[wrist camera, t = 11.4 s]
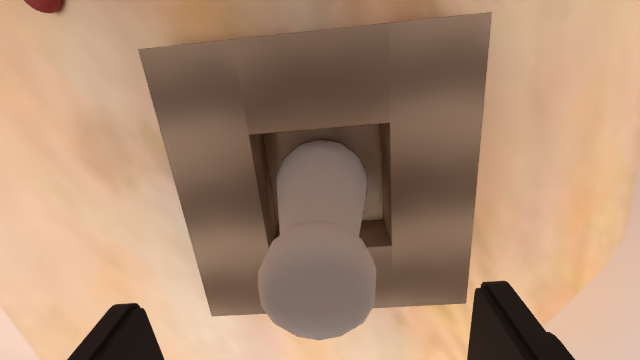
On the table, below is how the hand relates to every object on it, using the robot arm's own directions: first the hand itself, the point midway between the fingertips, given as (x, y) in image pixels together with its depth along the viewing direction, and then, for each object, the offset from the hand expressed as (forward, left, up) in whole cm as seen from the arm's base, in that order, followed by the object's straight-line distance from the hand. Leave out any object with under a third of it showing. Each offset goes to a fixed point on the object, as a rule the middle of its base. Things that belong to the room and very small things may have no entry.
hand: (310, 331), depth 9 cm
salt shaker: (0, 0, -15) cm, 15 cm away
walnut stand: (+1, 0, -14) cm, 14 cm away
